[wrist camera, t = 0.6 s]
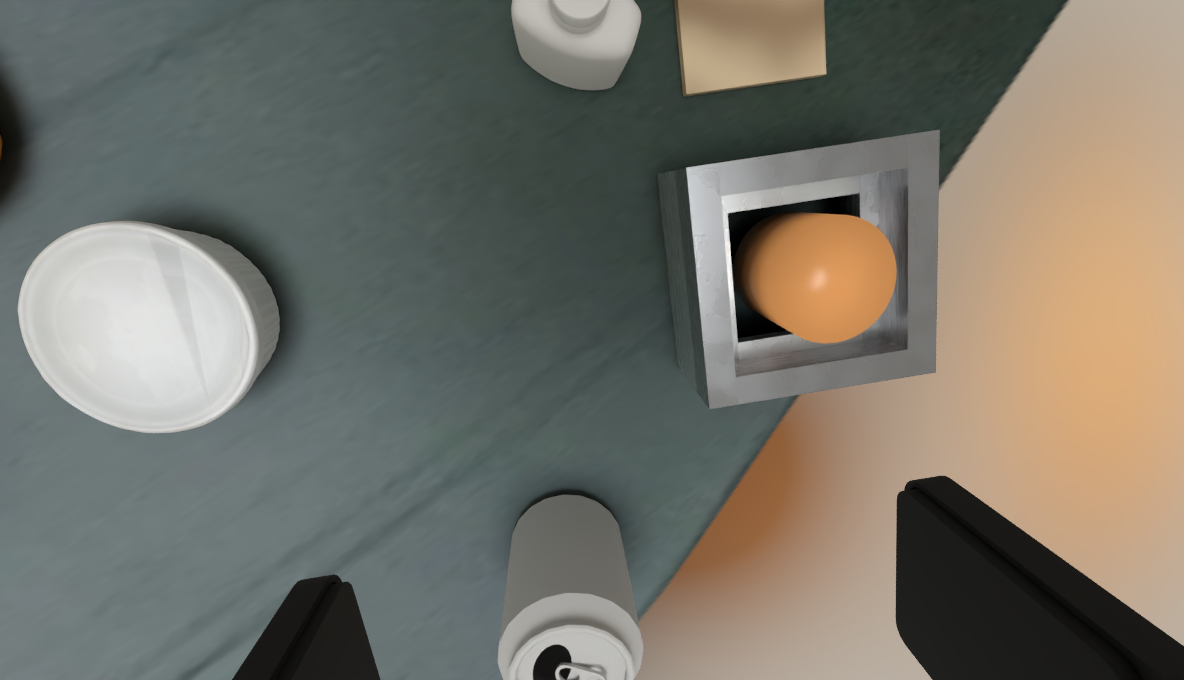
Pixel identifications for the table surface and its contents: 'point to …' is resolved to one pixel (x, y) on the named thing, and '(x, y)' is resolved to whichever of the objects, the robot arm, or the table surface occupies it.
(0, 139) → the fruit
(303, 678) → the robot arm
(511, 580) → the can
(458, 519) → the table surface
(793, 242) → the button
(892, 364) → the grey box
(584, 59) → the eye dropper bottle
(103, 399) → the ramekin
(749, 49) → the coaster
